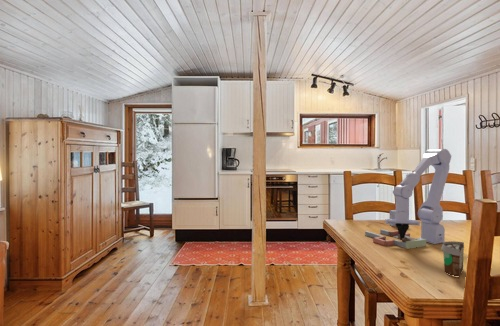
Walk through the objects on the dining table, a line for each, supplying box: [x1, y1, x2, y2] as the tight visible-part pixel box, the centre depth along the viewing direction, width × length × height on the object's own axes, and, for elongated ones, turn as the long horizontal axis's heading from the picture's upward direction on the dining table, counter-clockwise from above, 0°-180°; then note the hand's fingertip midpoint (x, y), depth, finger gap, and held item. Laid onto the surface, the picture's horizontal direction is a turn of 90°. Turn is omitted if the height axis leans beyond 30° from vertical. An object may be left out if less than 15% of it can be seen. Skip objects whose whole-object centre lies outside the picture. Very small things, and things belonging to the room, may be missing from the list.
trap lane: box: [364, 228, 427, 250], centre depth 157 cm, size 26×22×3 cm
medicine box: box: [389, 209, 396, 227], centre depth 188 cm, size 8×4×9 cm, turn 84°
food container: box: [440, 240, 465, 278], centre depth 115 cm, size 12×6×10 cm, turn 141°
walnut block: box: [401, 236, 418, 243], centre depth 149 cm, size 4×5×3 cm
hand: (401, 239), depth 152 cm, fingers closed
